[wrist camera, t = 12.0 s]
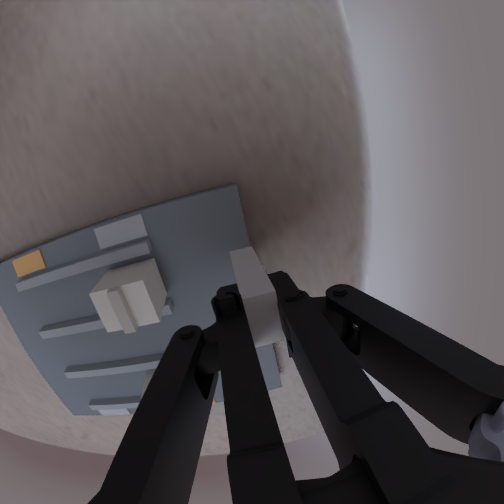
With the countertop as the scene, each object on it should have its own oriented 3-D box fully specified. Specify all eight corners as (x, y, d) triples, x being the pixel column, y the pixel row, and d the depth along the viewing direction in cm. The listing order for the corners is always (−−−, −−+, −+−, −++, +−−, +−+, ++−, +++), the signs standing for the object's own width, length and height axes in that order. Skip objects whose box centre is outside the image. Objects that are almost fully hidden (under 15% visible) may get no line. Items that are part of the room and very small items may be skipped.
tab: (121, 304, 19) (105, 337, 15) (107, 270, 18) (85, 298, 14) (167, 293, 20) (158, 327, 15) (154, 257, 19) (140, 284, 14)
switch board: (77, 404, 25) (71, 420, 22) (-4, 263, 18) (-20, 273, 15) (277, 374, 27) (284, 393, 24) (234, 183, 20) (238, 186, 18)
